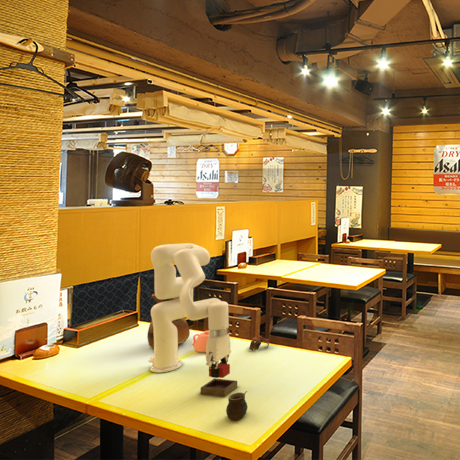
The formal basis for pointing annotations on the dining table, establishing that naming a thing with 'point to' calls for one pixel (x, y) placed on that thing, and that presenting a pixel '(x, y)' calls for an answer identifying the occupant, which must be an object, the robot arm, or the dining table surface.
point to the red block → (222, 370)
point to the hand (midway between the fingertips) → (219, 374)
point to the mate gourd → (236, 406)
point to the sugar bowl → (200, 341)
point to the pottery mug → (258, 342)
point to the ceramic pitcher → (179, 323)
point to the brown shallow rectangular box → (219, 387)
